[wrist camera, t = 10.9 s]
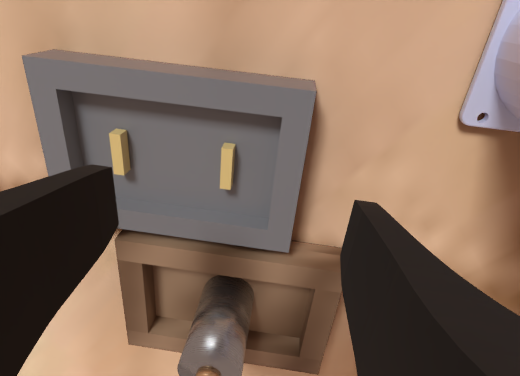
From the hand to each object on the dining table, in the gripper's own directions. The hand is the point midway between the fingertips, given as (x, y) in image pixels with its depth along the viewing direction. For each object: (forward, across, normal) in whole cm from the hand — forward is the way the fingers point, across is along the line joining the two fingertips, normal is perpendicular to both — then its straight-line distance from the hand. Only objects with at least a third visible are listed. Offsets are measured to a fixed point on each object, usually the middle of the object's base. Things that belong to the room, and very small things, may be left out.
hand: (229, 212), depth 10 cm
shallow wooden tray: (+10, +1, +13) cm, 16 cm away
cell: (+9, +1, +13) cm, 16 cm away
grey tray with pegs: (+10, +4, +2) cm, 11 cm away
